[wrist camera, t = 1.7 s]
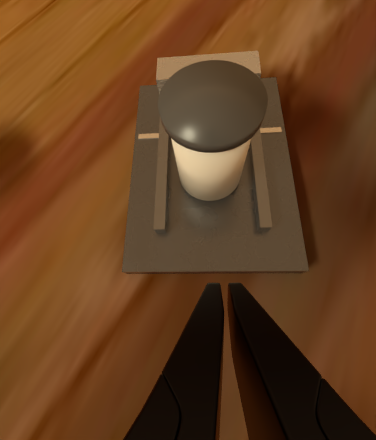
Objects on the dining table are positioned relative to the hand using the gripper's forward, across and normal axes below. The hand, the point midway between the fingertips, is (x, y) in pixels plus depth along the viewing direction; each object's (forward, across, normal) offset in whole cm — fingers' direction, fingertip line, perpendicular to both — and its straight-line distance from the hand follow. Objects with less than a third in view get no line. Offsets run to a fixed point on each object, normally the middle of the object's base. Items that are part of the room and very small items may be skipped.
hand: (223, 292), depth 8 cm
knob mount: (+19, 0, 0) cm, 19 cm away
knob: (+17, 0, 0) cm, 17 cm away
